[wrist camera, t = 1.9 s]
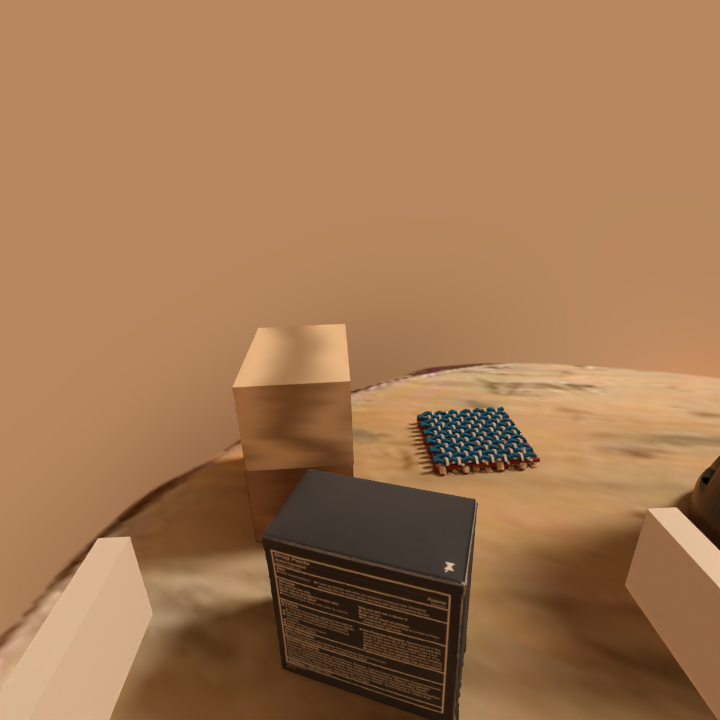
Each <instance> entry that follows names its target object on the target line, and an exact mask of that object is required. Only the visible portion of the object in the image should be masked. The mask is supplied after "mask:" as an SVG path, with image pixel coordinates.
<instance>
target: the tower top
mask: <svg viewBox="0 0 720 720" xmlns="http://www.w3.org/2000/svg"><path fill="white" fill-rule="evenodd" d="M233 394H234V400H235V406H236V412H237V418H238V424H239V431H240V437H241V443H242V449H243V456H244V462H245V468H246V471H260V470H277V469H293V468H309V467H326V466H342V465H354V459H353V435H352V412H351V388H350V373H349V363H348V351H347V340H346V329H345V324H335V325H315V326H295V327H294V326H293V327H271V328H258V330H257V333H256V335H255V338H254V340H253V342H252V344H251V346H250V349H249V351H248V353H247V356H246V358H245V360H244V362H243V365H242V367H241V369H240V372H239V374H238V376H237V378H236V381H235V383H234V385H233Z"/></svg>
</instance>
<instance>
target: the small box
mask: <svg viewBox="0 0 720 720" xmlns="http://www.w3.org/2000/svg"><path fill="white" fill-rule="evenodd" d="M477 505H478V503H477V500H476V499H471V498H465V497H460V496H454V495H449V494H443V493H437V492H432V491H426V490H421V489H415V488H410V487H405V486H399V485H394V484H388V483H383V482H377V481H372V480H366V479H361V478H355V477H350V476H345V475H339V474H334V473H329V472H323V471H318V470H313V469H310V470H308V471H307V473H306V474H305V475H304V476H303V478H302V479H301V480H300V482H299V483H298V484H297V486H296V487H295V489H294V490H293V492H292V493H291V495H290V496H289V497H288V499H287V500H286V502H285V503H284V505H283V506H282V507H281V509H280V510H279V512H278V513H277V514H276V516H275V517H274V519H273V520H272V522H271V523H270V525H269V526H268V527H267V529H266V530H265V532H264V533H263V535H262V542H263V547H264V550H265V553H266V560H267V563H268V570H269V578H270V585H271V593H272V598H273V605H274V612H275V618H276V625H277V633H278V639H279V644H280V646H279V647H280V654H281V665H282V668H284V669H286V670H289V671H292V672H295V673H298V674H300V675H303V676H306V677H309V678H312V679H315V680H318V681H321V682H324V683H327V684H330V685H332V686H336V687H339V688H341V689H344V690H347V691H350V692H353V693H356V694H359V695H362V696H365V697H368V698H371V699H374V700H377V701H379V702H382V703H385V704H388V705H391V706H394V707H397V708H400V709H403V710H406V711H409V712H411V713H415V714H417V715H420V716H424V717H427V718H430V719H433V720H459V703H458V699H459V697H460V692H459V691H460V688H461V679H462V678H461V675H462V667H463V658H464V653H465V651H466V632H467V620H468V609H469V597H470V586H471V573H472V561H473V548H474V536H475V524H476V512H477Z"/></svg>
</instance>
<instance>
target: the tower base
mask: <svg viewBox="0 0 720 720" xmlns="http://www.w3.org/2000/svg"><path fill="white" fill-rule="evenodd" d="M310 469H313V470H318V471H323V472H329V473H334V474H339V475H345V476H350V477H353V465H342V466H326V467H309V468H293V469H277V470H260V471H246V470H245V475H246V482H247V488H248V494H249V500H250V506H251V512H252V518H253V524H254V531H255V537H256V542H262V535H263V533H264V532H265V530H266V529H267V527H268V526H269V525H270V523H271V522H272V520H273V519H274V517H275V516H276V514H277V513H278V512H279V510H280V509H281V507H282V506H283V505H284V503H285V502H286V500H287V499H288V497H289V496H290V495H291V493H292V492H293V490H294V489H295V487H296V486H297V484H298V483H299V482H300V480H301V479H302V478H303V476H304V475H305V474H306V473H307V471H308V470H310Z"/></svg>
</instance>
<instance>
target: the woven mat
mask: <svg viewBox="0 0 720 720" xmlns="http://www.w3.org/2000/svg"><path fill="white" fill-rule="evenodd" d="M503 410H504V409H503V407H500V408H490V407H489V408H488V409H485V408H483V410H481V409H478V408H474V410H472V409H469V410H468V409H464V410H462V411H461V412H459V410H450V411H449V412H448V411H446V410H445V412H442V411H437V412H435V413H434V412H433V411H431V412H430V411H426V412H424V413H422V414H421V415H418V416H417V417H418V418H417V421H420V423H419V424H418V427H420V430H421V433H422V435H423V437H426V439H425V438H424V440H423V441H424V442H425V444H426V445H429V446H428V447H427V450H428V453H429V455H430V459H433V460H432V464H436V467H435V466H434V467H433V470H434V471H436V472H438V473H439V472H440V474H447V471H449V470H450V469H451V471H452V472H453V473H458V471H457V468H461V469H462V471H463V472H464V473H468V472H470V466H473V470H474V471H475V472H477V471H480V466H484V468H485V470H486V472H487V473H493V470H492V469H491V467H490V466H492V467H494V468H496V469H497V470H505V469H504V468H505V467H507V468H508V469H514V468H513V466H512V464H517V466H518V467H519V468H520V469H525V468H526V467H527V464H526V463H528V464H529V466H530V467H531V468H537V467H536V465H535V463H534V462H539V461H540V459H539V458H536V457H537V455H536V454H535V453H534V452H533V448H532V447H530V445H529V444H528V443H527V440H526V439H525V438H524V437H523V436H522V435H520V433H521V432H520V431H519V430H518V429H517V428H516V427H514V425H515V424H514V422H512V421H511V419H509V418H508V417H509V416H508V414H506V412H503ZM491 411H492V412H491ZM452 415H453V416H452ZM425 416H427V417H425ZM438 454H439V455H438ZM533 457H534V458H533ZM510 459H513V460H510ZM502 460H503V461H504V462H502ZM488 461H490V462H488ZM444 464H445V465H446V467H445V465H444Z"/></svg>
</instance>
